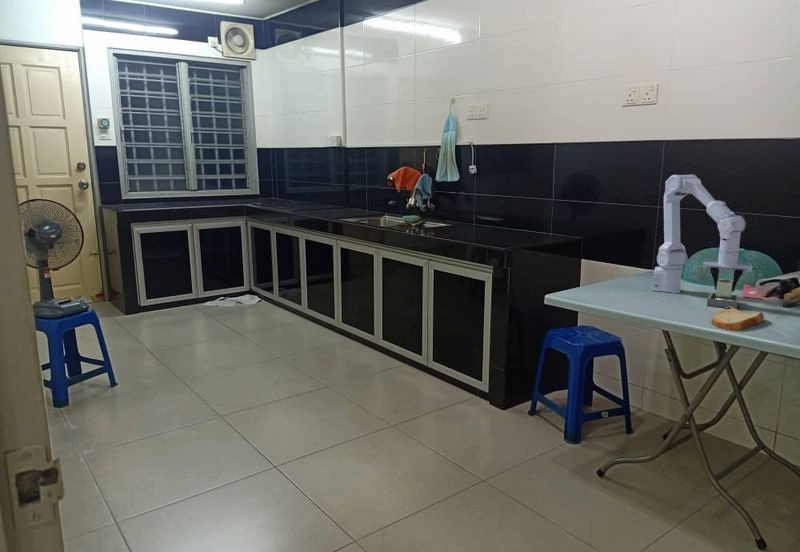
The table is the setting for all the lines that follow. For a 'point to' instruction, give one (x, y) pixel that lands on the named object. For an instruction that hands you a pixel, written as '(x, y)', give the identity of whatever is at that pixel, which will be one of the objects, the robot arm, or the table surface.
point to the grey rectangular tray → (722, 301)
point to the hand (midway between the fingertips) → (724, 290)
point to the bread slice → (736, 319)
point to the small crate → (724, 288)
